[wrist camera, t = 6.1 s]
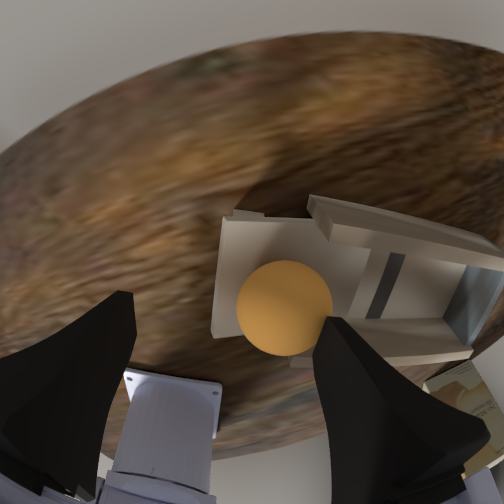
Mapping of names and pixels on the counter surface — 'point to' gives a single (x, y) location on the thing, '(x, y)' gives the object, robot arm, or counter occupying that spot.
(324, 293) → the ball
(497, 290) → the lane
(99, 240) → the counter surface
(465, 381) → the skincare box
